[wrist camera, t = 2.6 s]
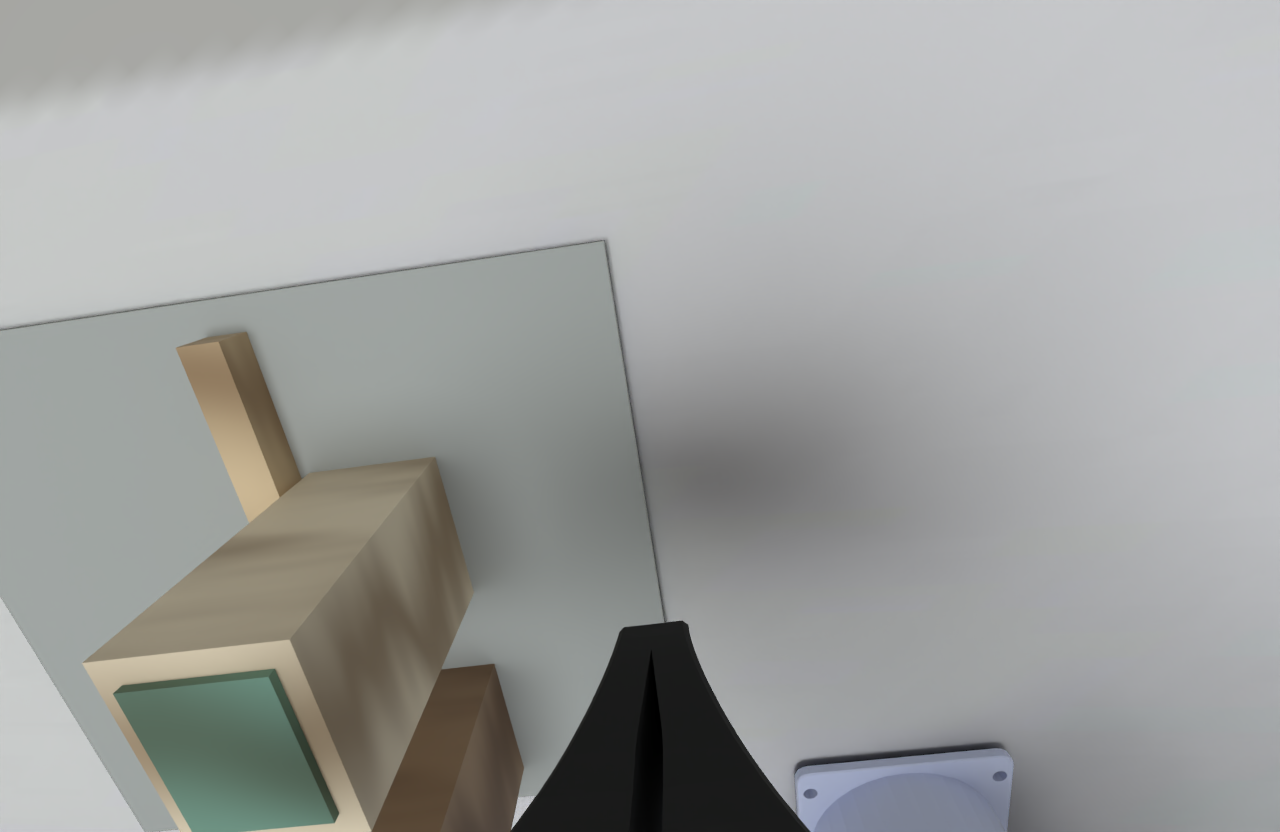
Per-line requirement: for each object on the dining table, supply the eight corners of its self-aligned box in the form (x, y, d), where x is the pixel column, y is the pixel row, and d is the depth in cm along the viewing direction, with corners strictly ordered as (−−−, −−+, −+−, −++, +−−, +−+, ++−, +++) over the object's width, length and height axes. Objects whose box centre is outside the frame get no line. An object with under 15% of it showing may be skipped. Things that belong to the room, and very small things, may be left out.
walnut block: (524, 767, 23) (464, 1049, 15) (421, 777, 23) (313, 1059, 16) (494, 663, 21) (410, 923, 14) (384, 675, 21) (241, 937, 14)
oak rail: (417, 788, 23) (405, 818, 22) (387, 790, 23) (374, 821, 22) (246, 331, 17) (218, 341, 16) (205, 337, 17) (175, 347, 16)
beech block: (474, 592, 20) (367, 841, 12) (358, 606, 20) (183, 858, 13) (435, 456, 18) (283, 647, 11) (309, 472, 19) (71, 671, 11)
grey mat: (688, 771, 23) (689, 780, 23) (152, 823, 25) (144, 832, 24) (604, 240, 16) (603, 241, 16) (-133, 349, 18) (-149, 353, 17)
